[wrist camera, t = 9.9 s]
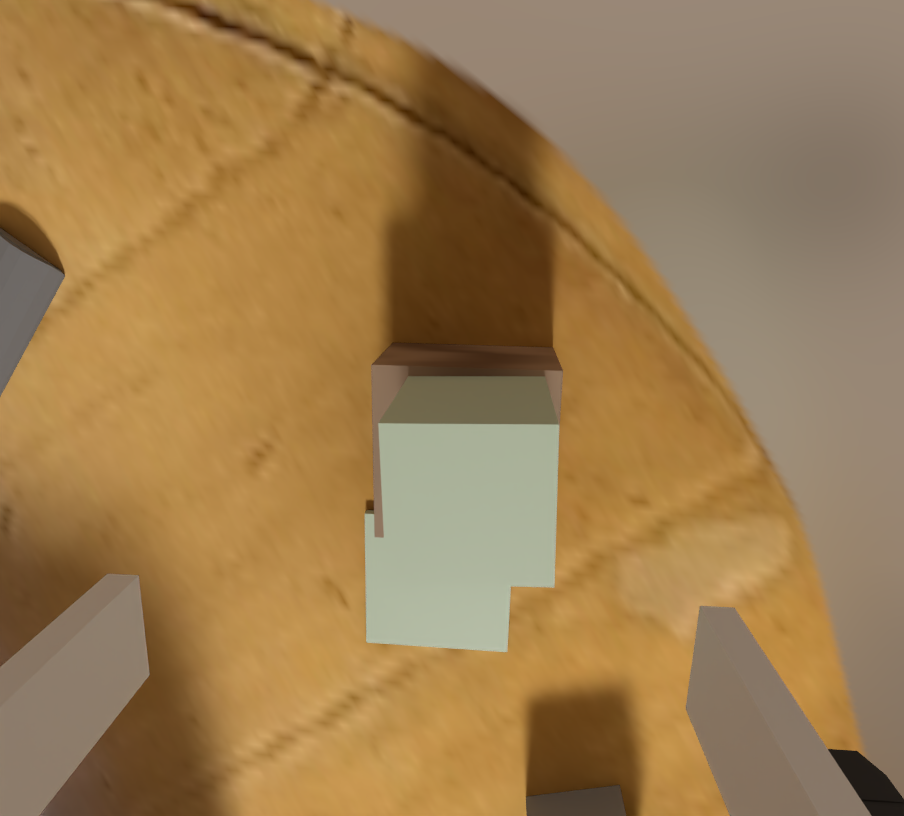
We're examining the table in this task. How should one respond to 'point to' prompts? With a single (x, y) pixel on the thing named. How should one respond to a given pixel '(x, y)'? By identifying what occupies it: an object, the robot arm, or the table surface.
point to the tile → (431, 608)
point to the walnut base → (451, 362)
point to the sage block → (470, 481)
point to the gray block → (578, 803)
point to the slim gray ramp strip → (21, 299)
